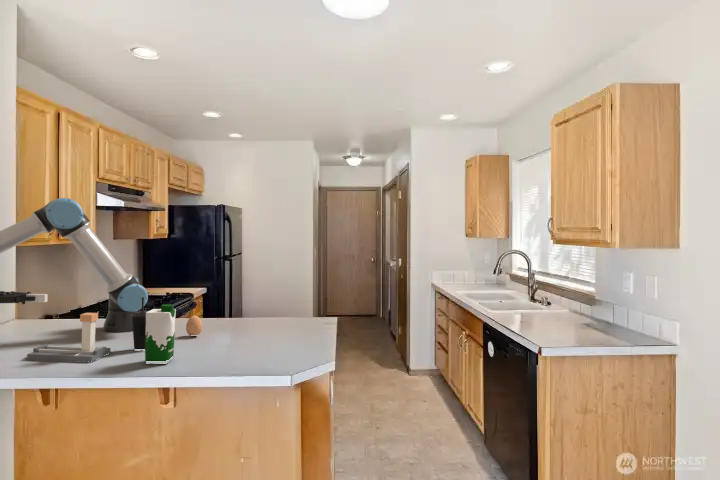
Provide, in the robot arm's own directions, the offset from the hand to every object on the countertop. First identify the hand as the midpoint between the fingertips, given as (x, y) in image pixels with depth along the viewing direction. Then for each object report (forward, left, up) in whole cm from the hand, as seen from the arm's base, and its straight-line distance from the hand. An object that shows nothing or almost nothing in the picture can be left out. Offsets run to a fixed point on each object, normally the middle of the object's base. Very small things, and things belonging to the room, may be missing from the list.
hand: (46, 298), depth 165 cm
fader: (-13, +7, -18) cm, 24 cm away
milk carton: (-35, +22, -21) cm, 46 cm away
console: (-8, +4, -20) cm, 22 cm away
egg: (-53, -12, -21) cm, 58 cm away
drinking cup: (-31, +3, -21) cm, 37 cm away
